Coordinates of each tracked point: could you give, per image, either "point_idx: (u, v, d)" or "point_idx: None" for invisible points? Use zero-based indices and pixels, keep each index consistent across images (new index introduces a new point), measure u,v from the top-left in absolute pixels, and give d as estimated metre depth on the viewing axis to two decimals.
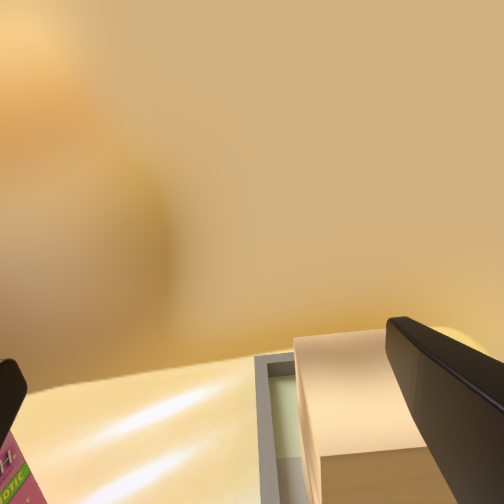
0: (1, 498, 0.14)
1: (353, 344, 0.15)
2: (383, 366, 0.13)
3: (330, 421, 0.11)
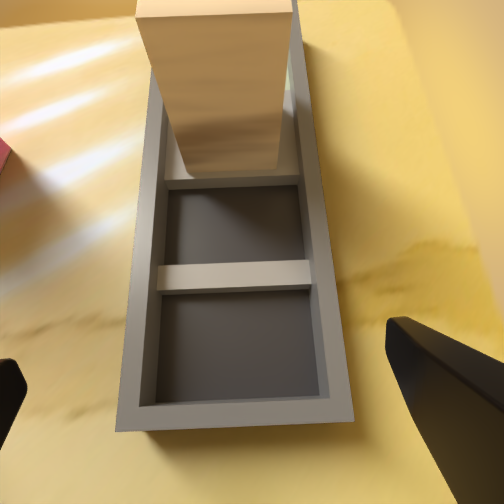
0: None
1: None
2: None
3: None
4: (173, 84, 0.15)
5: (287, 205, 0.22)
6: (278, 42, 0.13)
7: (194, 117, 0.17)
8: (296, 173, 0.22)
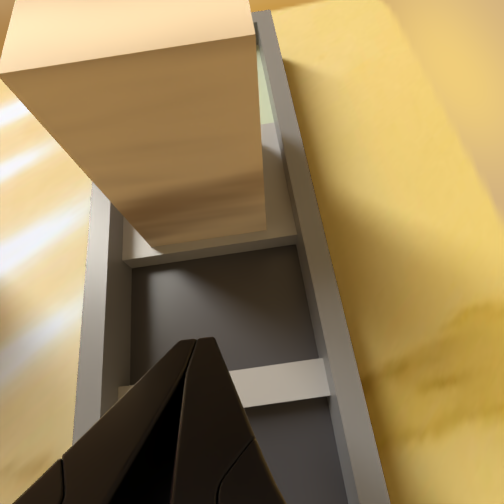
0: None
1: None
2: None
3: (30, 35, 0.08)
4: (95, 156, 0.10)
5: (285, 274, 0.17)
6: (241, 82, 0.08)
7: (141, 190, 0.12)
8: (293, 233, 0.16)
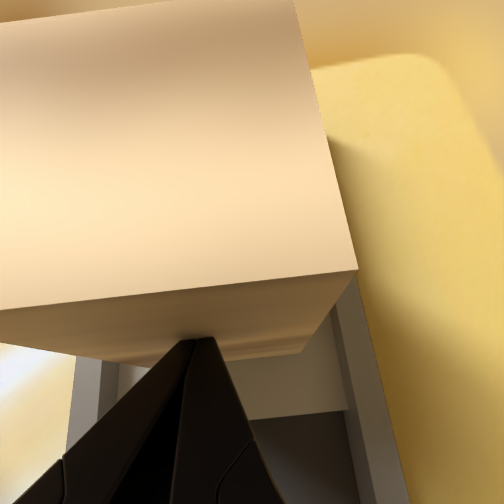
0: None
1: (119, 36, 0.06)
2: (156, 91, 0.05)
3: None
4: (76, 345, 0.07)
5: (330, 455, 0.13)
6: (312, 298, 0.05)
7: (143, 353, 0.09)
8: (342, 406, 0.12)
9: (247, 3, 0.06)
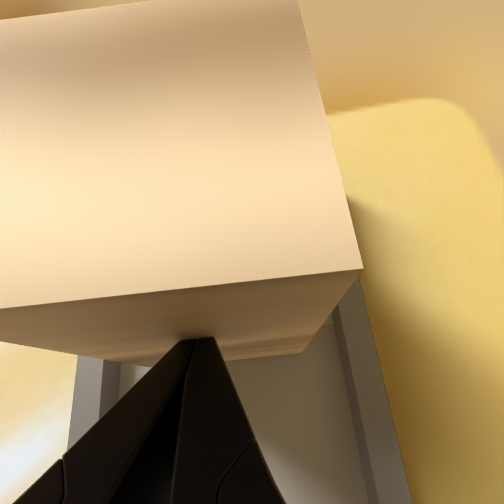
0: None
1: (121, 33, 0.06)
2: (159, 89, 0.05)
3: None
4: (78, 345, 0.07)
5: None
6: (315, 298, 0.05)
7: (144, 352, 0.09)
8: None
9: (250, 0, 0.06)
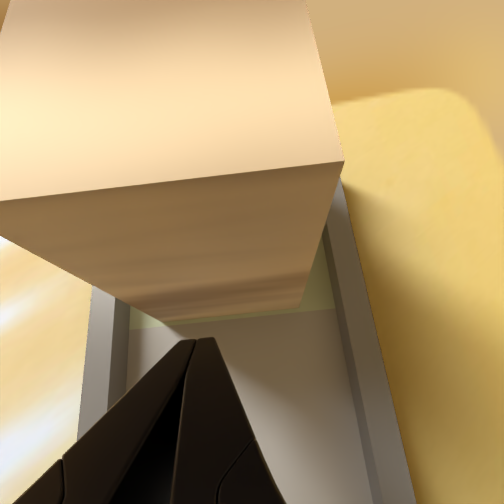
0: None
1: None
2: (170, 26, 0.06)
3: (3, 139, 0.05)
4: (96, 268, 0.08)
5: None
6: (307, 206, 0.06)
7: (154, 289, 0.10)
8: None
9: None
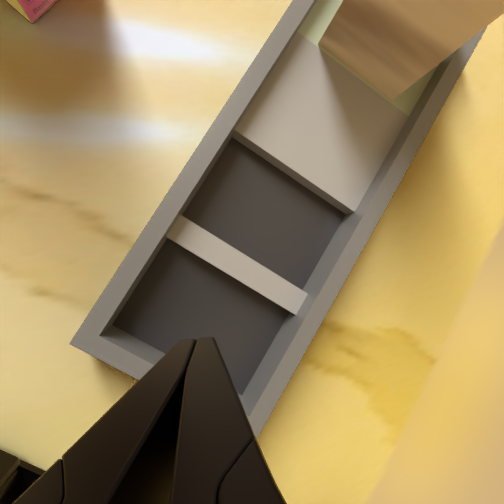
0: None
1: None
2: None
3: None
4: None
5: (324, 228, 0.21)
6: None
7: None
8: (352, 208, 0.21)
9: None
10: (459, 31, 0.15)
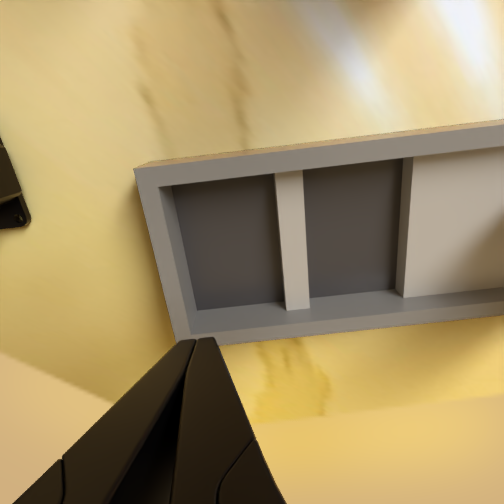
0: None
1: None
2: None
3: None
4: None
5: (371, 280, 0.21)
6: None
7: None
8: (405, 294, 0.21)
9: None
10: None
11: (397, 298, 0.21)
